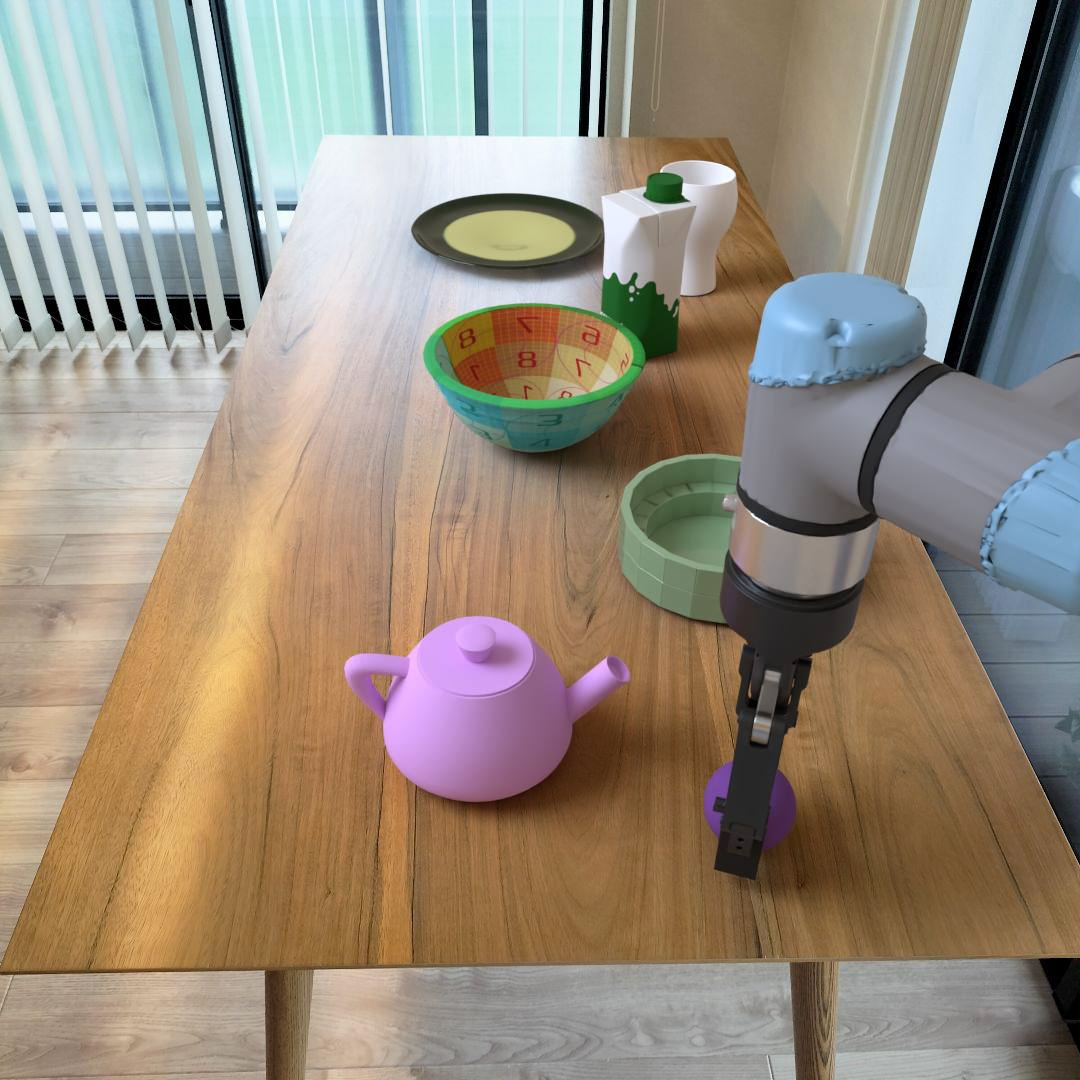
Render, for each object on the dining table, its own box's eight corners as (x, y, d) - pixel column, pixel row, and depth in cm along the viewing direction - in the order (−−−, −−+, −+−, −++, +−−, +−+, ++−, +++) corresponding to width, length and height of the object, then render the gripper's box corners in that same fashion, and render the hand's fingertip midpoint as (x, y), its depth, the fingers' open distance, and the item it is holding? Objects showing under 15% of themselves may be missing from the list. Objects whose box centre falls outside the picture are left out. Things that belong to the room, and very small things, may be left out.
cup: (732, 301, 141) (747, 187, 132) (651, 301, 141) (660, 186, 132) (720, 268, 150) (733, 159, 140) (643, 267, 149) (652, 158, 140)
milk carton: (688, 352, 130) (706, 187, 118) (626, 369, 126) (638, 201, 114) (646, 323, 136) (659, 163, 124) (585, 339, 132) (593, 176, 120)
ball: (807, 836, 72) (822, 777, 69) (750, 887, 69) (762, 828, 66) (738, 784, 76) (748, 725, 72) (680, 830, 73) (688, 771, 69)
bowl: (387, 460, 110) (380, 373, 104) (488, 366, 126) (486, 286, 120) (588, 518, 103) (593, 428, 97) (668, 410, 119) (676, 327, 113)
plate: (645, 259, 152) (646, 242, 150) (468, 299, 140) (467, 281, 139) (544, 196, 171) (544, 180, 169) (381, 227, 159) (380, 211, 158)
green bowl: (853, 569, 97) (867, 515, 94) (726, 658, 88) (735, 602, 84) (705, 484, 107) (712, 433, 104) (577, 556, 98) (580, 502, 94)
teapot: (633, 813, 75) (644, 707, 69) (344, 818, 74) (328, 711, 68) (615, 673, 86) (623, 570, 80) (363, 677, 85) (351, 572, 79)
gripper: (754, 458, 67) (714, 719, 81) (692, 658, 52) (657, 934, 66) (879, 480, 65) (816, 743, 79) (850, 693, 50) (780, 969, 64)
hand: (743, 830), depth 72 cm, fingers closed on ball, 6 cm apart
